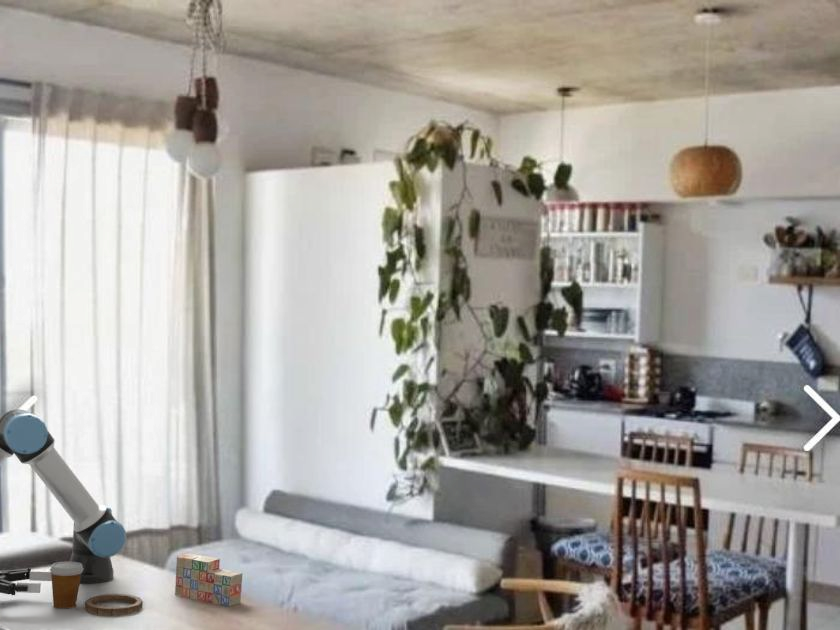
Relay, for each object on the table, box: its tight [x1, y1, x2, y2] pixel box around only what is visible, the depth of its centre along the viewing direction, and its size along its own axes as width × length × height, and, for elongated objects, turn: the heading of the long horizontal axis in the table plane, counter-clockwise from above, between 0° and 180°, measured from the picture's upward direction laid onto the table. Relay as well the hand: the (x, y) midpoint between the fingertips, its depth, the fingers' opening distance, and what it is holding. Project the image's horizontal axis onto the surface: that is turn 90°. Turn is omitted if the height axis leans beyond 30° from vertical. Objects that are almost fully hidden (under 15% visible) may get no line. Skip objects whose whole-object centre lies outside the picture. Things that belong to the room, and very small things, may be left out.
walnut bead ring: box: [84, 593, 144, 617], centre depth 308 cm, size 16×16×2 cm
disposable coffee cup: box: [49, 561, 84, 609], centre depth 308 cm, size 10×10×12 cm
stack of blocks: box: [174, 553, 243, 607], centre depth 324 cm, size 21×6×12 cm, turn 62°
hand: (46, 582), depth 307 cm, fingers open, 13 cm apart
